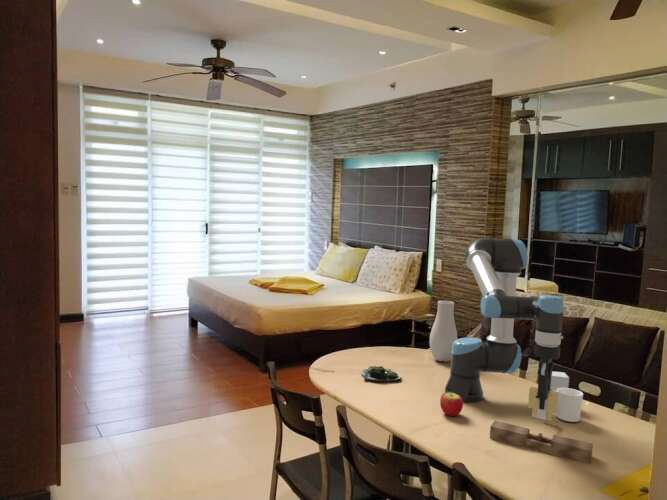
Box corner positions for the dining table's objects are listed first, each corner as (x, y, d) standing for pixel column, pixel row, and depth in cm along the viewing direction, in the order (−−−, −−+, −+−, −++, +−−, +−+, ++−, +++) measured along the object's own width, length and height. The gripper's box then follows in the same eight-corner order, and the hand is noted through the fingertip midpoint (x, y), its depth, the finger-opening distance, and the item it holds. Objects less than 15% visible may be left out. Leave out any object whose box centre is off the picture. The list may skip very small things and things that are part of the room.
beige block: (527, 416, 166) (529, 389, 166) (529, 413, 169) (531, 386, 169) (555, 422, 162) (557, 394, 162) (556, 419, 165) (559, 392, 164)
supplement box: (567, 409, 202) (569, 377, 201) (546, 407, 203) (549, 375, 202) (562, 402, 209) (565, 372, 208) (543, 400, 210) (545, 370, 209)
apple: (447, 408, 196) (448, 382, 196) (467, 415, 190) (468, 388, 190) (434, 413, 191) (436, 387, 190) (454, 421, 185) (456, 393, 184)
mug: (579, 416, 195) (581, 390, 194) (582, 425, 186) (584, 397, 186) (547, 411, 198) (550, 385, 198) (549, 420, 190) (551, 392, 189)
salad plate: (353, 370, 239) (354, 360, 239) (390, 369, 243) (390, 360, 243) (365, 384, 220) (366, 373, 220) (405, 383, 225) (405, 372, 224)
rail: (489, 437, 172) (490, 426, 171) (494, 431, 177) (494, 420, 177) (590, 463, 157) (591, 451, 156) (591, 456, 162) (592, 443, 162)
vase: (428, 362, 257) (432, 302, 254) (428, 355, 270) (431, 298, 268) (457, 365, 254) (461, 305, 252) (455, 358, 268) (459, 300, 266)
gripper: (557, 351, 155) (551, 427, 157) (563, 341, 169) (558, 412, 171) (530, 347, 159) (525, 421, 161) (539, 338, 173) (534, 407, 174)
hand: (542, 416), depth 166 cm, fingers closed on beige block, 3 cm apart
